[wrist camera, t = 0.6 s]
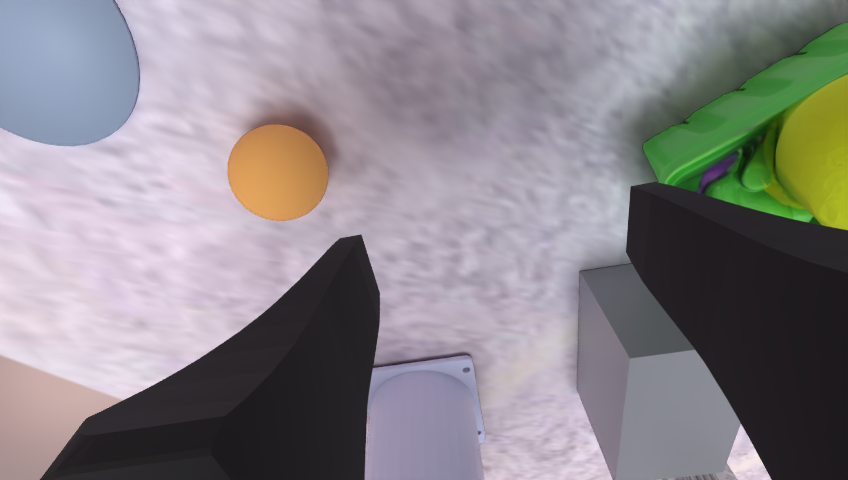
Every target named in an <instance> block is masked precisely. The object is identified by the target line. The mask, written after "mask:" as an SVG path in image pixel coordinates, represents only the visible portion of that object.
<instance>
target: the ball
mask: <svg viewBox="0 0 848 480" xmlns="http://www.w3.org/2000/svg"><path fill="white" fill-rule="evenodd" d="M228 179H229V183H230V186H231V189H232V191H233V193H234V195H235V196H236V198H237V199H238V201H239V202H240V203H241V204H242V205H243V206H244V207H245V208H246V209H248V210H249V211H250V212H252V213H254V214H255V215H257V216H260V217H262V218H265V219H269V220H275V221H286V220H292V219H296V218H299V217H301V216H303V215H305V214H307V213H309V212H310V211H311V210H312V209H314V208H315V207H316V206H317V205H318V203H319V202H320V201H321V199H322V197H323V196H324V194H325V191H326V188H327V184H328V166H327V162H326V159H325V156H324V154H323V152H322V151H321V149H320V147H319V146H318V145H317V143H316V142H315V141H314V140H313V139H312V138H311V137H309V136H308V135H307V134H305V133H304V132H302V131H300V130H298V129H296V128H293V127H290V126H286V125H279V124H272V125H265V126H261V127H258V128H255V129H253V130H251V131H250V132H248V133H246V134H245V135H244V136H243V137H241V138H240V140H239V141H238V142H237V143H236V144H235V146H234V148H233V149H232V152H231V154H230V157H229V161H228Z"/></svg>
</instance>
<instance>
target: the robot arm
mask: <svg viewBox="0 0 848 480" xmlns="http://www.w3.org/2000/svg"><path fill="white" fill-rule="evenodd" d="M626 253H627V255H628V256H629V258H630V260H631V262H632V264H633V266H634V268H635V270H636V271H637V273H638V275H639V276H640V278H641V280H642V282H643V283H644V284H645V286H646V287H647V288H648V290H649V291H650V292H651V294H652V295H653V296H654V298H655V299H656V300H657V301H658V303H659V304H660V305H661V307H662V308H663V309H664V310H665V312H666V313H667V314H668V315H669V317H670V318H671V319H672V321H673V322H674V323H675V324H676V326H677V327H678V328H679V329H680V331H681V332H682V333H683V335H684V336H685V337H686V338H687V340H688V341H689V342H690V344H691V345H692V346H693V347H694V349H695V350H696V352H697V353H698V354H699V356H700V357H701V359H702V360H703V361H704V363H705V364H706V366H707V368H708V369H709V371H710V372H711V374H712V376H713V377H714V379H715V381H716V382H717V384H718V385H719V387H720V389H721V390H722V392H723V394H724V395H725V397H726V398H727V400H728V402H729V404H730V405H731V407H732V409H733V411H734V412H735V414H736V416H737V417H738V419H739V421H740V423H741V424H742V426H743V428H744V430H745V431H746V433H747V435H748V436H749V438H750V440H751V442H752V444H753V446H754V448H755V449H756V451H757V453H758V455H759V457H760V459H761V461H762V462H763V464H764V466H765V468H766V470H767V472H768V474H769V475H770V477H771V479H772V480H848V230H844V229H839V228H833V227H828V226H823V225H818V224H813V223H808V222H803V221H799V220H794V219H790V218H786V217H782V216H778V215H774V214H770V213H766V212H762V211H758V210H755V209H751V208H748V207H744V206H740V205H737V204H734V203H730V202H727V201H723V200H720V199H717V198H713V197H710V196H707V195H703V194H700V193H697V192H693V191H690V190H687V189H683V188H679V187H676V186H672V185H668V184H664V183H658V182H653V183H647V184H642V185H636V186H631V191H630V205H629V219H628V232H627V246H626ZM379 321H380V292H379V289H378V286H377V283H376V280H375V276H374V273H373V270H372V267H371V264H370V261H369V257H368V254H367V251H366V248H365V245H364V242H363V239H362V235H356V236H351V237H345V238H340V239H339V240H338V241H336V242H335V243H334V244H333V245H332V246H331V247H330V248H329V249H328V250H327V252H326V253H325V254H324V255H323V256H322V257H321V258H320V259H319V260H318V261H317V262H316V263H315V264H314V265H313V266H312V267H311V268H310V269H309V271H308V272H307V273H306V274H305V275H304V276H303V277H302V278H301V279H300V280H299V281H298V282H297V283H296V284H295V285H294V286H292V287H291V288H290V289H289V290H288V291H287V292H286V293H285V294H284V295H283V296H282V297H281V298H280V299H279V300H278V301H277V302H276V303H274V304H273V305H272V306H271V307H270V308H269V309H268V310H266V311H265V312H264V313H263V314H262V315H260V316H259V317H258V318H257V319H255V320H254V321H253V322H251V323H250V324H249V325H248V326H246V327H245V328H244V329H242V330H241V331H240V332H238V333H237V334H235V335H234V336H232V337H231V338H230V339H228V340H227V341H225V342H224V343H222V344H221V345H219V346H218V347H216V348H215V349H213V350H212V351H210V352H209V353H207V354H206V355H204V356H203V357H201V358H200V359H198V360H196V361H195V362H193V363H191V364H190V365H188V366H186V367H185V368H183V369H181V370H180V371H178V372H176V373H174V374H173V375H171V376H169V377H167V378H166V379H164V380H162V381H160V382H158V383H157V384H155V385H153V386H151V387H149V388H147V389H145V390H143V391H141V392H139V393H137V394H135V395H133V396H131V397H129V398H127V399H125V400H123V401H121V402H119V403H117V404H115V405H113V406H111V407H109V408H107V409H105V410H103V411H101V412H99V413H97V414H95V415H92V416H90V417H88V418H87V419H86V420H85V421H84V422H83V423H82V424H81V426H80V427H79V429H78V430H77V431H76V432H75V434H74V435H73V436H72V438H71V439H70V440H69V442H68V443H67V444H66V446H65V447H64V449H63V450H62V451H61V453H60V454H59V455H58V456H57V458H56V459H55V461H54V462H53V463H52V465H51V466H50V467H49V468H48V470H47V471H46V472H45V474H44V475H43V476H42V478H41V479H40V480H484V473H483V466H482V459H481V452H480V445H479V444H482V443H484V442H485V441H486V437H485V431H484V426H483V420H482V414H481V408H480V402H479V396H478V390H477V384H476V378H475V372H474V366H473V360H472V358H471V357H470V356H457V357H450V358H442V359H435V360H428V361H421V362H414V363H407V364H399V365H392V366H385V367H378V368H373V364H374V357H375V351H376V344H377V337H378V331H379ZM465 367H468V368H465ZM367 412H368V414H369V417H370V423H369V433H368V442H367V452H366V461H365V446H366V423H367Z"/></svg>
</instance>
